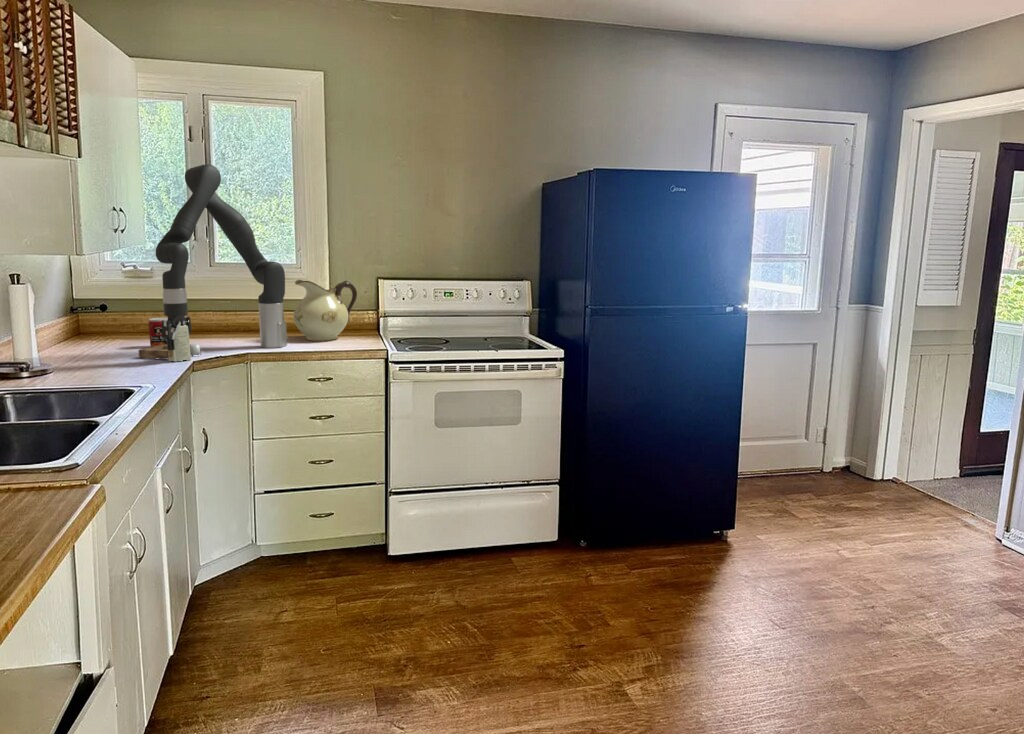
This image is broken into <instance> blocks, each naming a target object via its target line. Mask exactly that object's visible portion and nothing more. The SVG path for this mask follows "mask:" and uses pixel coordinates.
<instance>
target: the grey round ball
mask: <svg viewBox="0 0 1024 734" xmlns="http://www.w3.org/2000/svg"><path fill="white" fill-rule="evenodd" d="M190 354H191V355H199V354H200V355H201V346H200V343H190Z"/></svg>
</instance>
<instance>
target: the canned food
mask: <svg viewBox="0 0 1024 734" xmlns="http://www.w3.org/2000/svg"><path fill="white" fill-rule="evenodd" d="M162 320H168V317H152V318H148V332H149V345H150V347H153V346H157V345H161V344H162V345H167V339H166V338H163V337H162ZM165 335H166V331H165Z"/></svg>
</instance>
